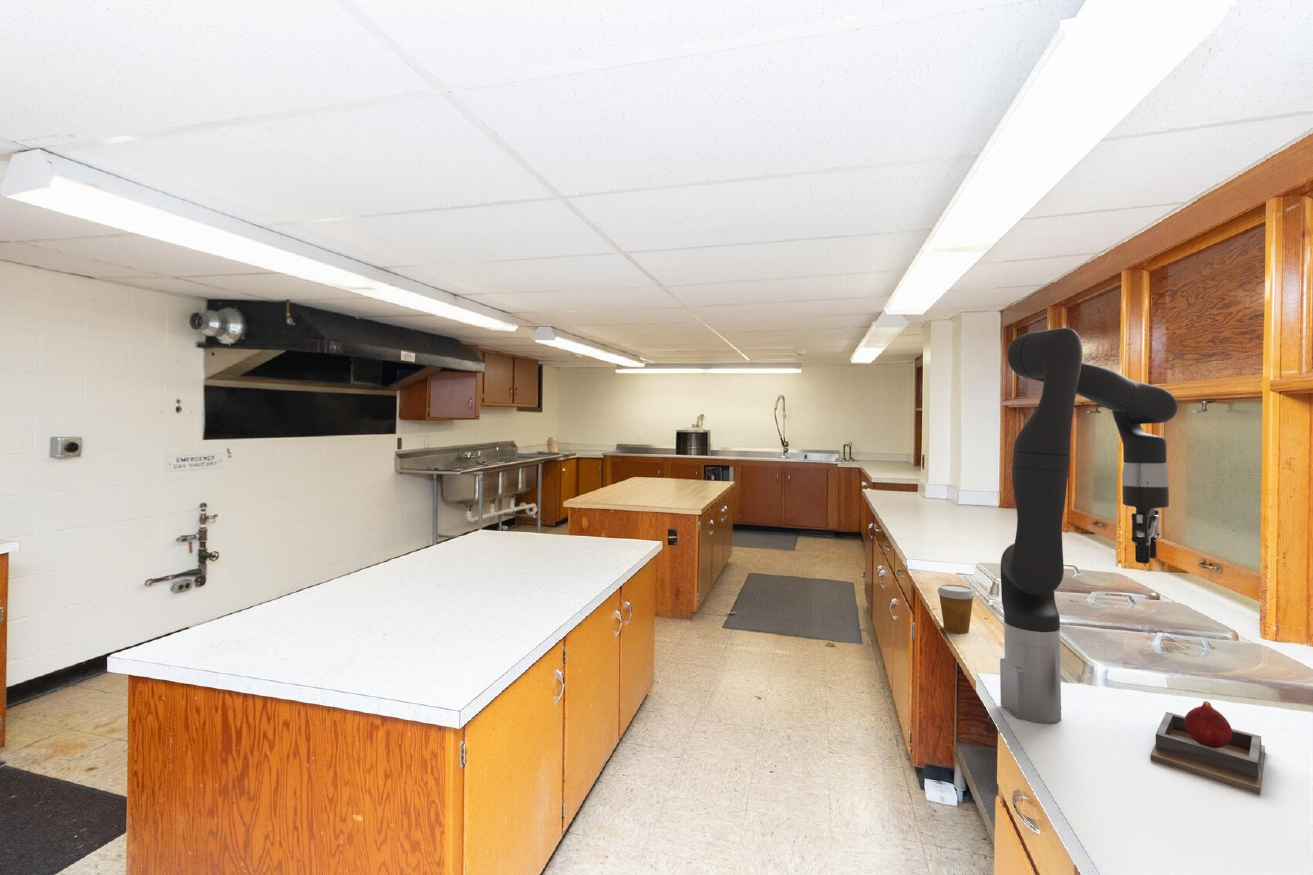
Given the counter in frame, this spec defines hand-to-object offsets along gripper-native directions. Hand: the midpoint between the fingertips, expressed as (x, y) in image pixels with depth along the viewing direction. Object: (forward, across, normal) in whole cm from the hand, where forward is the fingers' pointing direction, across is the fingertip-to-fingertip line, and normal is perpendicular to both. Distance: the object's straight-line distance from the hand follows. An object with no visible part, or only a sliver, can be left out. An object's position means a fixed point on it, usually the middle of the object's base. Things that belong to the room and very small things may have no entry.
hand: (1146, 560), depth 122 cm
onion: (+27, -24, -11) cm, 38 cm away
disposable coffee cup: (+28, +13, +44) cm, 54 cm away
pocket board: (+28, -25, -11) cm, 39 cm away
